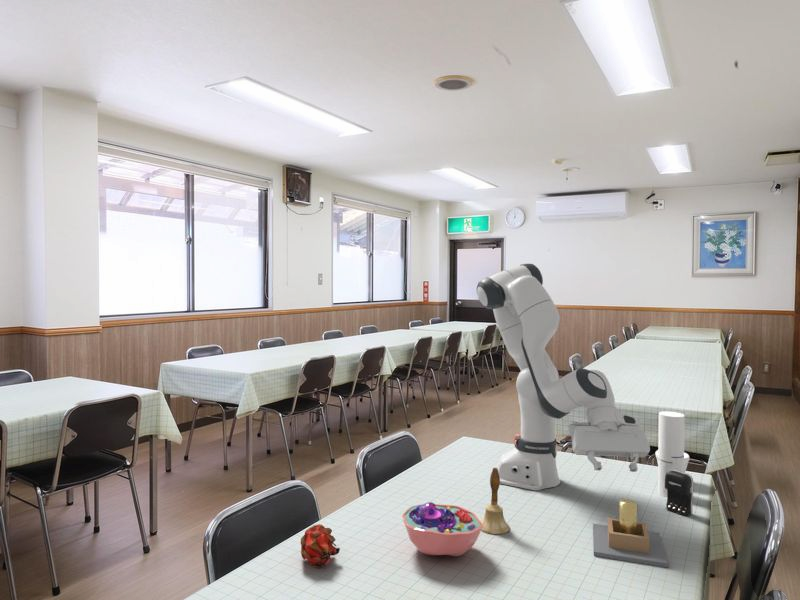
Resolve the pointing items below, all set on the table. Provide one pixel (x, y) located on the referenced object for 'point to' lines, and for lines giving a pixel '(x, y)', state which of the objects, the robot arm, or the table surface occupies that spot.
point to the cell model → (441, 528)
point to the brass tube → (628, 516)
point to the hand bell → (494, 510)
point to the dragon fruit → (318, 545)
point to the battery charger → (679, 492)
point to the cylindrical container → (670, 446)
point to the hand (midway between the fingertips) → (616, 470)
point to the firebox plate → (628, 544)
